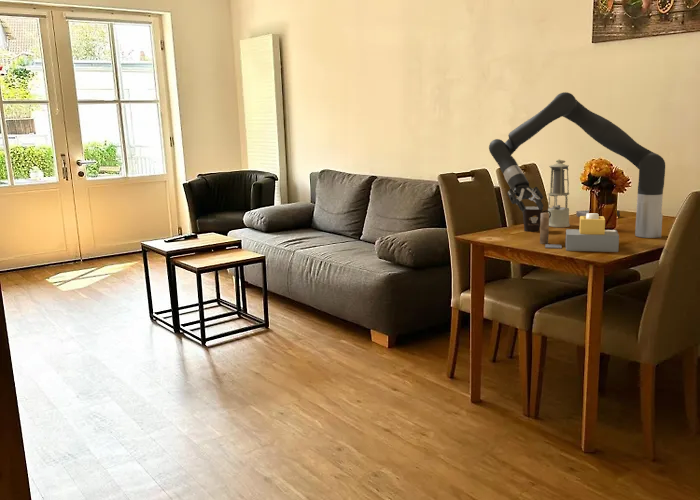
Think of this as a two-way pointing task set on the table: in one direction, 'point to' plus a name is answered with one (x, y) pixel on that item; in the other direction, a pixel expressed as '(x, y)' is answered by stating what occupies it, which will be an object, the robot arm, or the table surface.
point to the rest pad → (553, 246)
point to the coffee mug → (532, 218)
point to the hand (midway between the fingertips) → (533, 209)
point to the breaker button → (592, 216)
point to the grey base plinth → (592, 236)
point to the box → (583, 213)
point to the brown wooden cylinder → (544, 228)
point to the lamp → (557, 183)
